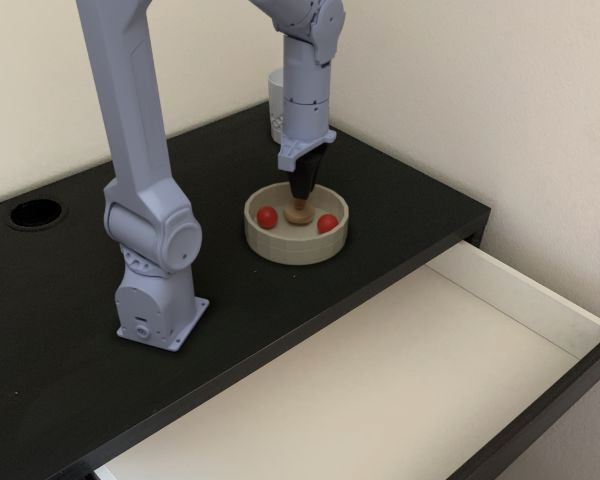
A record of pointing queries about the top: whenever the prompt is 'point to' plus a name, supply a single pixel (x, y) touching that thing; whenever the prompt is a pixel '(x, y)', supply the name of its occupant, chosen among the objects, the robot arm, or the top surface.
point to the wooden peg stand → (299, 211)
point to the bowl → (295, 226)
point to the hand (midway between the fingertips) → (303, 193)
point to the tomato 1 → (267, 216)
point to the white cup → (276, 102)
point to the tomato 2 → (327, 223)
